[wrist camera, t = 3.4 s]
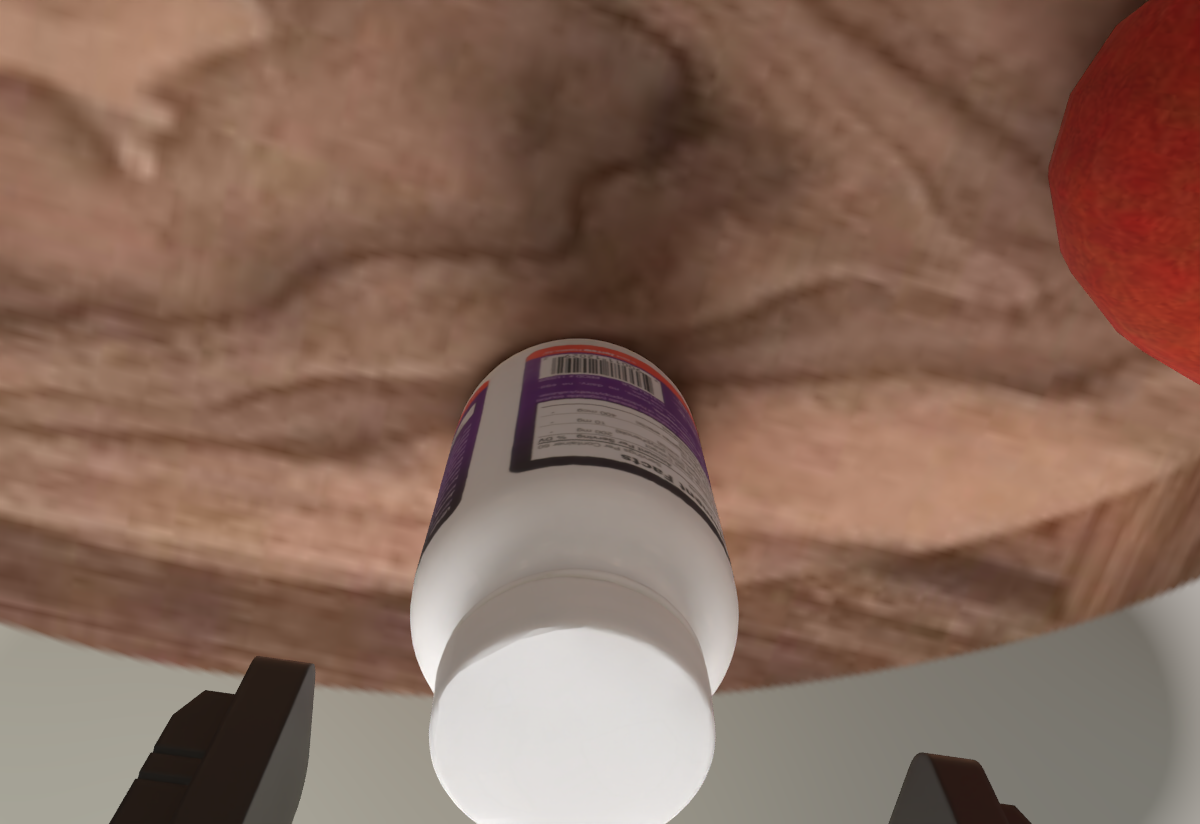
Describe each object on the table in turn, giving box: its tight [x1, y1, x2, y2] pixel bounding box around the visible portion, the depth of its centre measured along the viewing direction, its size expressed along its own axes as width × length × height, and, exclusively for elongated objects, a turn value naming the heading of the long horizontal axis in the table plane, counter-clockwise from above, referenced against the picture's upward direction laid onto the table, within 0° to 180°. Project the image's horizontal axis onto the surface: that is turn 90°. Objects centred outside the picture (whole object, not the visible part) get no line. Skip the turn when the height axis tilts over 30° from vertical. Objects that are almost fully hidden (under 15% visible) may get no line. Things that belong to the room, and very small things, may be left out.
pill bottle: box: [410, 339, 739, 824], centre depth 19 cm, size 5×5×10 cm
